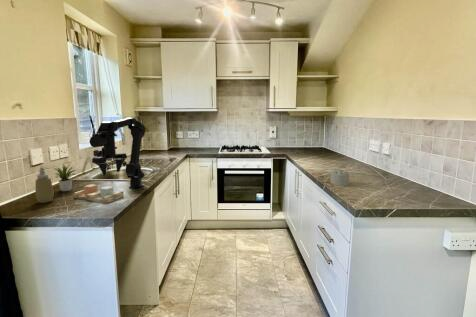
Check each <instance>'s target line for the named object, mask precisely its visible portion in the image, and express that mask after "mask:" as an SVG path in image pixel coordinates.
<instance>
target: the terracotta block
mask: <svg viewBox="0 0 476 317" xmlns="http://www.w3.org/2000/svg"><path fill="white" fill-rule="evenodd" d="M83 190H85V195H87V194H90V193H93V192H97V191H98V184H92V183H91V184H88V185H84V186H83Z"/></svg>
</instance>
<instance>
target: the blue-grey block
mask: <svg viewBox="0 0 476 317" xmlns="http://www.w3.org/2000/svg"><path fill="white" fill-rule="evenodd" d="M99 191H100V194H101V198H103V197H105V196H108V195H111V194H114V186H107V185H106V186H103V187H99Z"/></svg>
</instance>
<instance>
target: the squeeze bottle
mask: <svg viewBox="0 0 476 317" xmlns="http://www.w3.org/2000/svg"><path fill="white" fill-rule="evenodd" d="M36 177H37V178H36V179H35V198H36V200H37V201H38V203H40V204H42V203H44V204H45V203H50V202H52V201H53V200H54V195H55V192H54V186H53V184H52V183H53V182H52V179H51V178H50V177H49V174H48V173H46V172H45V169H44V167H40V170H39V174H37V176H36Z"/></svg>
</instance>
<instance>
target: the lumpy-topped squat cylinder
mask: <svg viewBox="0 0 476 317" xmlns="http://www.w3.org/2000/svg"><path fill="white" fill-rule="evenodd" d="M349 182H350V173H349V171H348V170H343V169H334V170H331V171H330V183H331V185H334V184H335V186H338V185H340V187H348V186H349ZM347 185H348V186H347Z"/></svg>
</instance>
